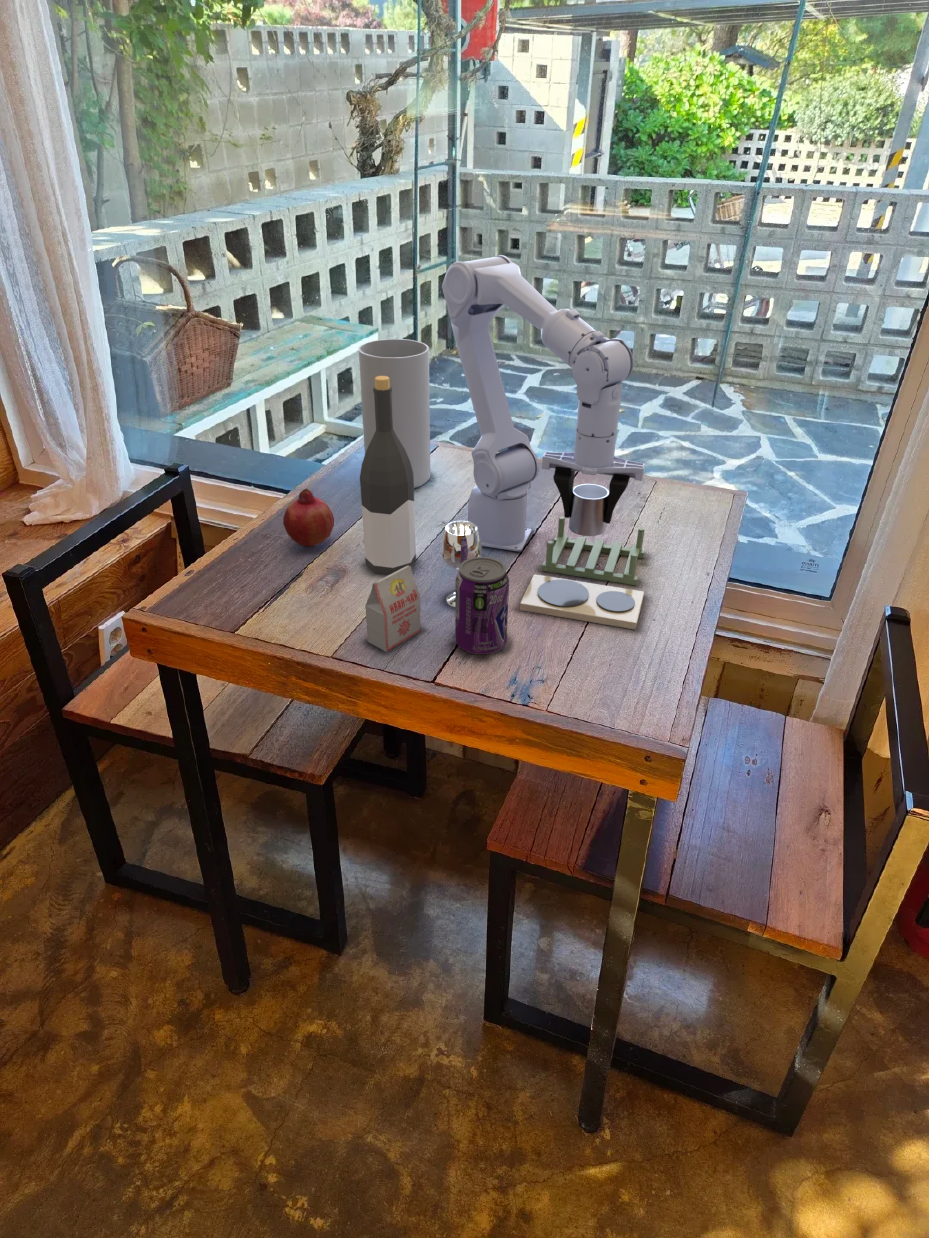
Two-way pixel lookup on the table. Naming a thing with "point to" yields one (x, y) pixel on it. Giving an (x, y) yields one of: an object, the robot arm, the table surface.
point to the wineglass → (460, 546)
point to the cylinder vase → (400, 396)
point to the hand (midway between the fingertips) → (587, 517)
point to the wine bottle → (387, 493)
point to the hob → (583, 601)
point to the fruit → (308, 520)
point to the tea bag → (393, 610)
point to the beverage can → (481, 605)
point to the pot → (588, 509)
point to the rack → (593, 557)
